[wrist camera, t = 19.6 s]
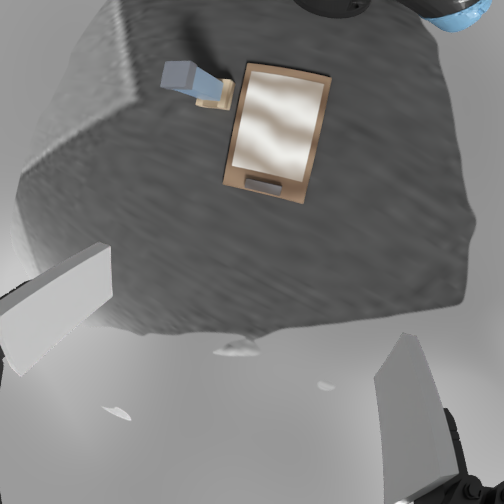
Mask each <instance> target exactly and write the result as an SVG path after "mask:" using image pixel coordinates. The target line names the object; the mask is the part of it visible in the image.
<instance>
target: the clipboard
mask: <svg viewBox="0 0 504 504" xmlns="http://www.w3.org/2000/svg"><path fill="white" fill-rule="evenodd" d="M331 79H332V78H330V77H326V76H322V75H317V74H313V73H308V72H303V71H298V70H293V69H287V68H281V67H275V66H268V65H261V64H252V63H247V68H246V72H245V76H244V81H243V85H242V90H241V94H240V99H239V104H238V109H237V113H236V118H235V123H234V128H233V133H232V138H231V143H230V148H229V154H228V159H227V164H226V170H225V175H224V181H223V184H224V185H228V186H233V187H237V188H241V189H246V190H250V191H254V192H258V193H263V194H267V195H271V196H275V197H279V198H283V199H287V200H290V201H294V202H298V203H302V204H303V202H304V198H305V194H306V190H307V186H308V182H309V178H310V174H311V170H312V166H313V161H314V157H315V153H316V149H317V144H318V140H319V135H320V131H321V126H322V122H323V117H324V113H325V108H326V103H327V99H328V94H329V89H330V84H331Z"/></svg>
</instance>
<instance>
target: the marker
mask: <svg viewBox="0 0 504 504" xmlns="http://www.w3.org/2000/svg"><path fill="white" fill-rule="evenodd" d="M223 84H224V83H222V82H221V81H219V80H218V79H216V78H215V77H213V76H212V75H210V74H208V73H207V72H205V71H203V70H202V69H200V68H199V67H197V64H195V63H193V62H192V61H167V62H165V66H164V71H163V75H162V80H161V85H160V87H162V88H165V89H173V90H176V91H179V92H182V93H185V94H188V95H190V96H193V97H196V98H199V99H201V100H212V101H220V99H221V94H222V89H223Z"/></svg>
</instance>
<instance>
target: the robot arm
mask: <svg viewBox="0 0 504 504" xmlns="http://www.w3.org/2000/svg"><path fill="white" fill-rule="evenodd" d="M294 1H295V2H296V3H297V4H298V5H299V6H301V7H302V8H303V9H305V10H307V11H309V12H311V13H314V14H316V15H319V16H323V17H328V18H349V17H353V16H356V15H359V14H361V13H362V12H364V11H365V10H366V9H367V8H368V7H369V5H370V3H371V0H294ZM396 1H398V2H400V3H401V4H403V5H405V6H406V7H408V8H409V9H411V10H413V11H414V12H416V13H417V14H418V15H419V16H420V17H421V18H423V19H425V20H428V21H429V22H431V23H432V24H434V25H435V26H437V27H438V28H440V29H441V30H443V31H447V32H458V31H461V30H464V29H466V28H468V27H469V26H471V25H472V24H474V23H475V22H476V21H478V20H479V19H480V18H481V15H482V14H483V13H485V12H486V11H487V10H488V9H489V7H490V5H491V3H492V0H396ZM112 296H113V293H112V277H111V246H109V245H106V244H103V243H101V242H98V243H96V244H94V245H92V246H90V247H88V248H86V249H84V250H83V251H81V252H79V253H77V254H75V255H73V256H72V257H70V258H68V259H66V260H65V261H63V262H61V263H59V264H58V265H56V266H54V267H52V268H51V269H49V270H47V271H46V272H44V273H42V274H41V275H39V276H37V277H36V278H34V279H32V280H29V281H26V282H24V283H22V284H20V285H19V286H18V287H16V289H13V290H11V291H10V292H9V293H7V294H5V295H3V296H2V297H0V386H1V379H2V372H3V361H2V359H3V358H4V357H6V359H7V361H8V363H9V365H10V367H11V368H12V369H13V370H14V371H15V372H16V373H17V374H18V375H19V376H20V377H21V376H23V375H24V374H25V373H26V372H27V371H28V370H29V369H30V368H31V367H32V366H33V365H34V364H36V363H37V362H38V361H39V360H40V359H41V358H42V357H43V356H44V355H45V354H46V353H47V352H49V350H51V349H52V348H53V347H54V346H55V345H56V344H57V343H59V342H60V341H61V340H62V339H63V338H64V337H65V336H66V335H67V334H69V333H70V332H71V331H72V330H73V329H74V328H75V327H77V326H78V325H79V324H80V323H81V322H83V321H84V320H85V319H86V318H87V317H88V316H90V315H91V314H92V313H93V312H94V311H96V310H97V309H98V308H99V307H100V306H101V305H103V304H104V303H105V302H106V301H108V300H109V299H110V298H111V297H112ZM374 381H375V388H376V396H377V404H378V412H379V420H380V430H381V440H382V455H383V473H384V504H409V503H411V502H413V501H414V504H504V481H503V482H501V483H500V484H498V485H497V486H495V487H494V488H491V487H484V486H482V484H481V481H480V480H479V479H478V478H477V477H476V476H473V475H468V472H467V467H466V462H465V458H464V454H463V449H462V445H461V442H460V441H459V439H460V438H459V434H458V432H457V427H456V423H455V420H454V418H453V416H452V415H451V413H450V412H449V410H448V409H447V408H443V407H442V403H441V400H440V397H439V394H438V391H437V388H436V385H435V382H434V379H433V376H432V374H431V371H430V368H429V366H428V363H427V360H426V358H425V355H424V352H423V350H422V347H421V345H420V342H419V340H418V338H417V336H415V335H411V334H406V333H402V335H401V336H400V338H399V340H398V341H397V343H396V345H395V346H394V348H393V350H392V351H391V353H390V354H389V356H388V357H387V359H386V361H385V362H384V363H383V365H382V366H381V368H380V369H379V371H378V372H377V374H376V375H375V377H374ZM0 504H2V501H1V495H0Z"/></svg>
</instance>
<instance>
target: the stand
mask: <svg viewBox="0 0 504 504" xmlns="http://www.w3.org/2000/svg"><path fill="white" fill-rule="evenodd" d="M216 79H218V78H216ZM218 80H219V81H221V82H222V83H224V84H223V89H222V94H221V99H220V101H212V100H201V99H199V98H197V101H196V105H198V106H201V107H207V108H216V109H224V110H230V106H231V101H232V96H233V92H234V87H235V83H234V82H233V81H231V80H230V79H218Z"/></svg>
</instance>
